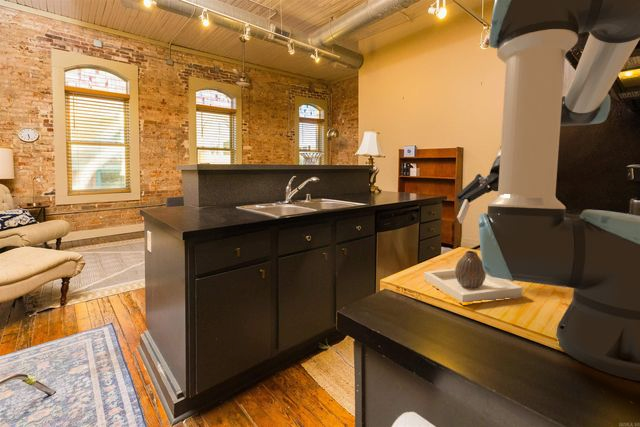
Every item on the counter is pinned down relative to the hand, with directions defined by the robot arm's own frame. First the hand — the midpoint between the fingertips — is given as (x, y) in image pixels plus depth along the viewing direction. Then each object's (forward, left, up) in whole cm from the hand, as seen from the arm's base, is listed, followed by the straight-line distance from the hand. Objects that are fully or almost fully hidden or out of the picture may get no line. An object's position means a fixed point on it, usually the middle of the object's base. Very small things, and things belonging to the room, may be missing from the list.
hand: (485, 223), depth 85 cm
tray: (-5, +7, -15) cm, 18 cm away
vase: (-5, +8, -15) cm, 17 cm away
